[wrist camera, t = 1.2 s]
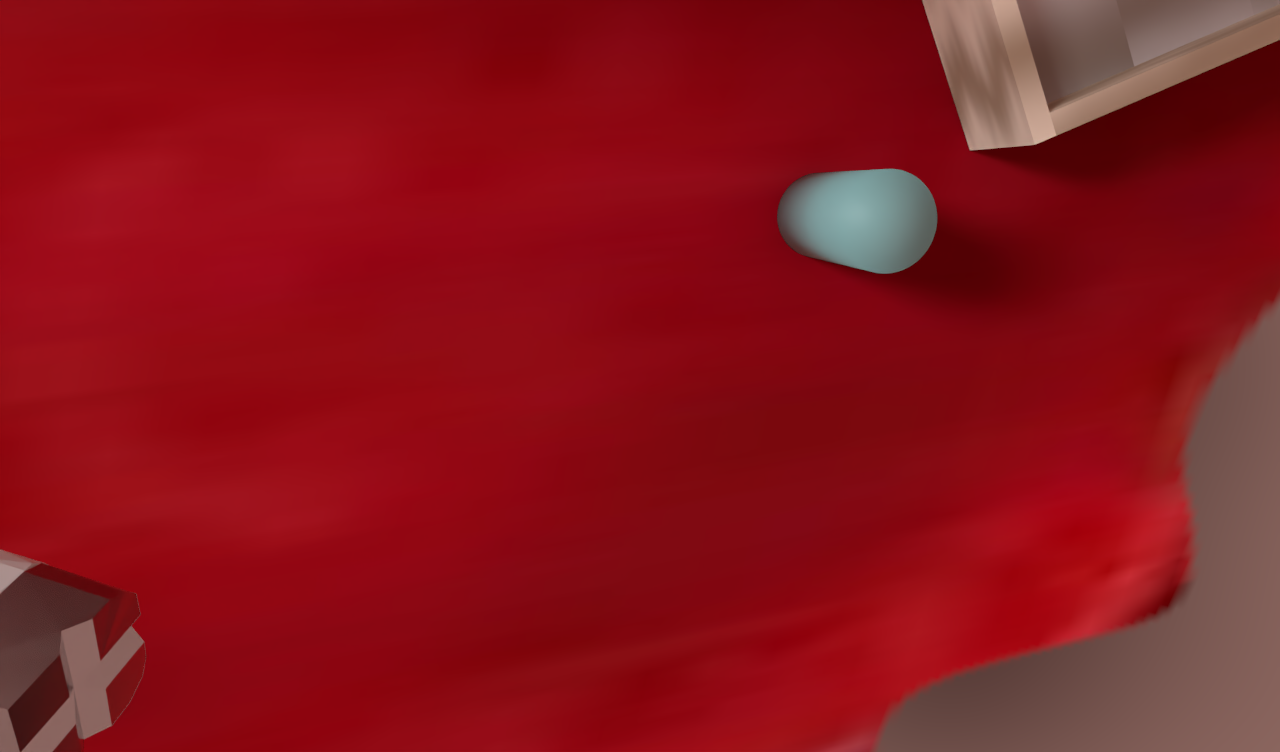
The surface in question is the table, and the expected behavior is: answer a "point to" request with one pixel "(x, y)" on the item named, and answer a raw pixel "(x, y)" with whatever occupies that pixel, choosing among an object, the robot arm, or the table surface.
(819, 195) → the peg
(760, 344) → the table surface
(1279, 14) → the bore box
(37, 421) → the table surface
